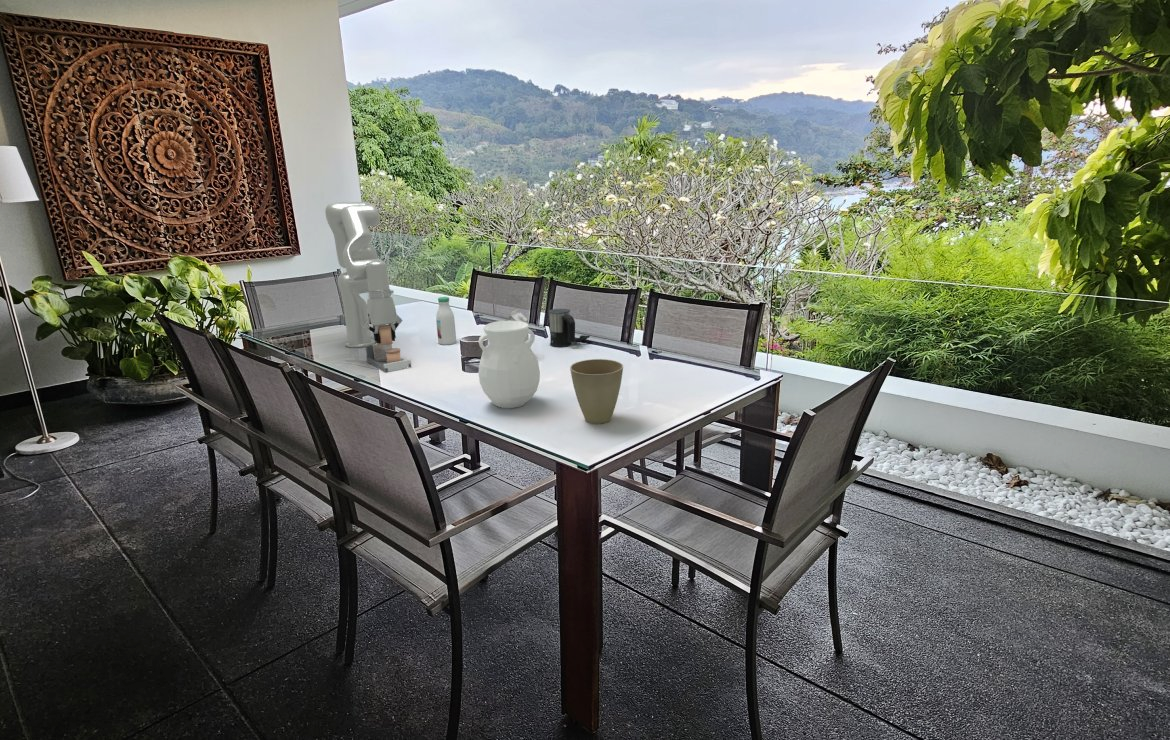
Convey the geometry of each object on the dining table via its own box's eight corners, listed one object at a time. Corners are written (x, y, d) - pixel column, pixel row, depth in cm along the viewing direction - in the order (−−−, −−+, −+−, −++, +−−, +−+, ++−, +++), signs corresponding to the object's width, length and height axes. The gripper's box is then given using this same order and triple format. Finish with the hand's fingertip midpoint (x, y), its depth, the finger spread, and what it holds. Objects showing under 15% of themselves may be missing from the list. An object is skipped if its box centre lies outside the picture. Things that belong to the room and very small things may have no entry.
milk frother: (545, 345, 260) (543, 311, 256) (567, 337, 272) (566, 304, 268) (572, 350, 252) (571, 314, 248) (594, 341, 264) (593, 307, 260)
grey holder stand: (367, 361, 242) (365, 346, 240) (392, 356, 248) (390, 342, 246) (385, 372, 227) (383, 356, 225) (411, 367, 233) (409, 352, 231)
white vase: (489, 418, 180) (483, 334, 172) (474, 399, 196) (468, 322, 189) (549, 408, 187) (546, 327, 179) (530, 390, 203) (526, 316, 196)
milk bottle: (458, 340, 271) (454, 295, 266) (453, 345, 264) (449, 299, 258) (441, 340, 272) (437, 296, 266) (435, 345, 265) (431, 299, 259)
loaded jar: (385, 367, 233) (383, 349, 231) (399, 365, 236) (397, 347, 234) (390, 370, 229) (388, 352, 227) (404, 367, 232) (402, 350, 230)
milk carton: (505, 359, 240) (502, 311, 234) (513, 355, 246) (511, 308, 241) (521, 361, 237) (518, 313, 232) (529, 356, 243) (527, 309, 238)
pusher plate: (368, 358, 245) (366, 341, 243) (386, 355, 249) (384, 338, 247) (375, 362, 239) (373, 344, 237) (393, 359, 243) (391, 341, 241)
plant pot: (580, 408, 186) (579, 357, 181) (628, 412, 181) (628, 360, 177) (564, 426, 172) (562, 372, 167) (616, 431, 168) (615, 375, 163)
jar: (376, 343, 236) (374, 325, 234) (390, 341, 239) (387, 323, 237) (381, 346, 232) (379, 327, 230) (395, 343, 235) (393, 325, 233)
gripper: (398, 291, 238) (403, 336, 243) (353, 296, 228) (360, 344, 233) (405, 292, 232) (410, 339, 237) (360, 298, 223) (366, 347, 228)
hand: (385, 341), depth 235 cm, fingers closed on jar, 5 cm apart
